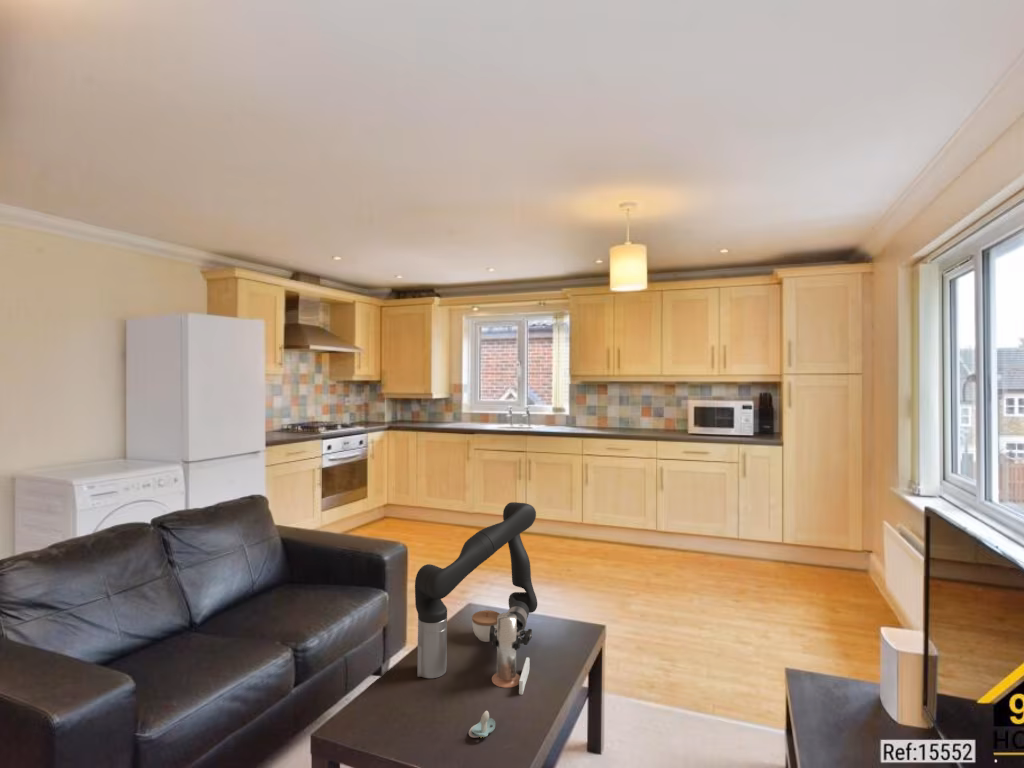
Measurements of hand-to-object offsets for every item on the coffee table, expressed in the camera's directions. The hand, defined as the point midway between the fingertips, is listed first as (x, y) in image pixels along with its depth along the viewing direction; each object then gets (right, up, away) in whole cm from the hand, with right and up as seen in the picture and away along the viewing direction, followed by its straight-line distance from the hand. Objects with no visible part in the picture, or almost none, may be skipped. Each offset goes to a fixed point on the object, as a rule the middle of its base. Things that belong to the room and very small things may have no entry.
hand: (505, 646), depth 167 cm
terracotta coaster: (0, -12, +2) cm, 12 cm away
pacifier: (-6, -12, -23) cm, 27 cm away
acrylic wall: (+6, -12, +1) cm, 13 cm away
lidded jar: (-7, -12, +30) cm, 33 cm away
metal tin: (0, -10, +3) cm, 10 cm away
